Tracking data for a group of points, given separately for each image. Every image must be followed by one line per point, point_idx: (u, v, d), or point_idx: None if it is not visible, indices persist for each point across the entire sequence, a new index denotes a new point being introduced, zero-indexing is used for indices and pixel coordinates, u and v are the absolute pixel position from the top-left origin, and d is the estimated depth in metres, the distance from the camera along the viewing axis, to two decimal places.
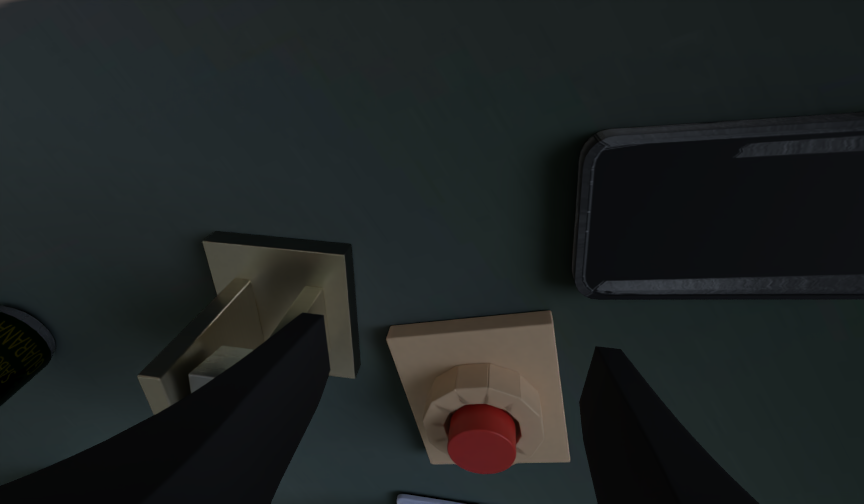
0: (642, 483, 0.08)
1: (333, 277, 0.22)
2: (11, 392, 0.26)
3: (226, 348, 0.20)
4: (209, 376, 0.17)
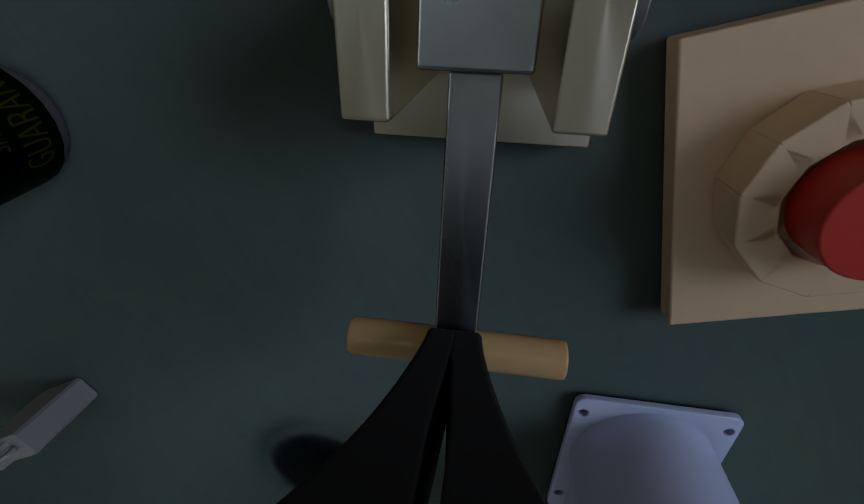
0: None
1: None
2: (4, 186, 0.16)
3: None
4: None
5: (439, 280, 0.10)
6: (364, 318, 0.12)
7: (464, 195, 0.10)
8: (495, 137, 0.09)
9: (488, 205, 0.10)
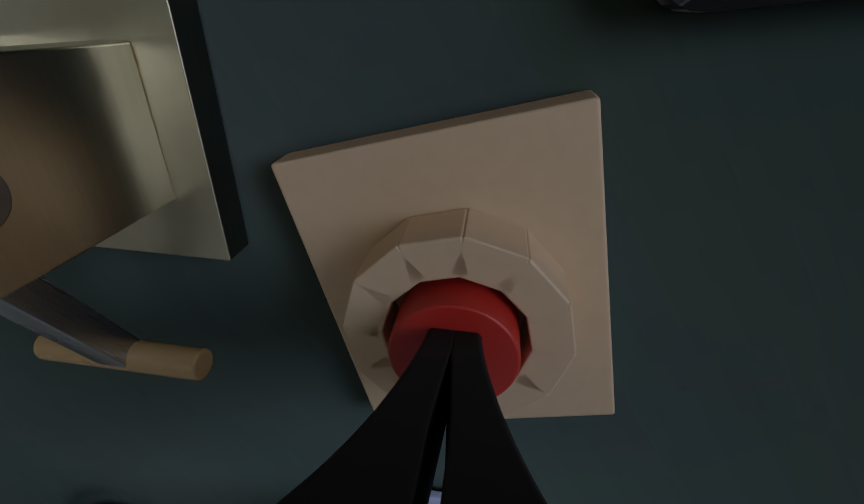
0: None
1: (144, 11, 0.11)
2: None
3: None
4: None
5: (51, 339, 0.13)
6: None
7: None
8: None
9: (23, 314, 0.11)
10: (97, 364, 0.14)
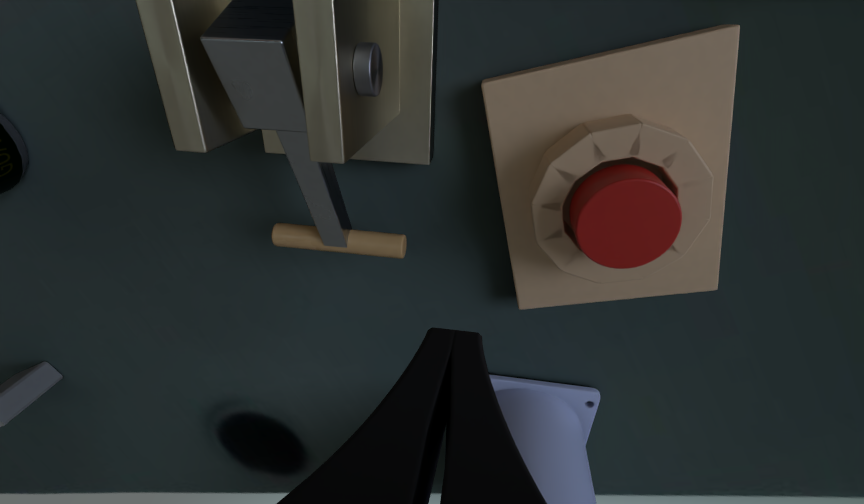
0: None
1: None
2: None
3: None
4: (235, 38, 0.10)
5: (312, 214, 0.17)
6: (281, 226, 0.19)
7: (307, 176, 0.15)
8: None
9: (323, 181, 0.15)
10: (323, 246, 0.19)
